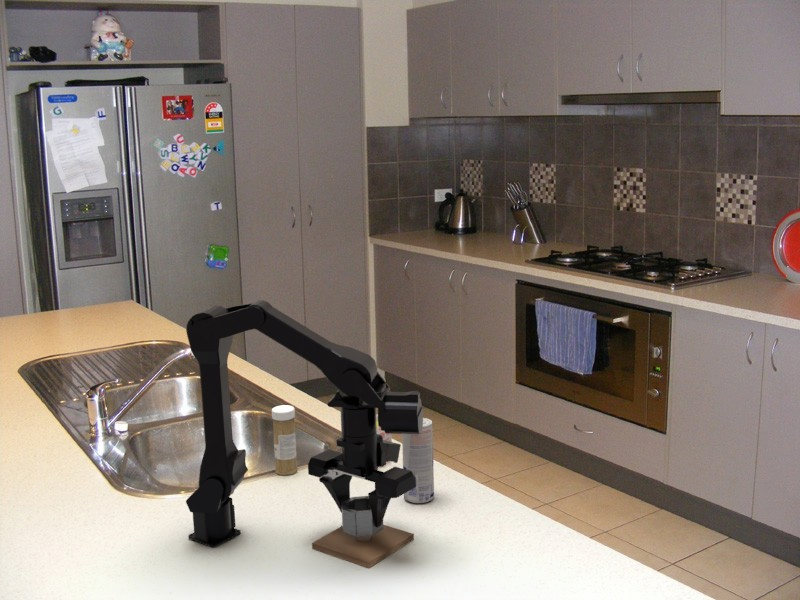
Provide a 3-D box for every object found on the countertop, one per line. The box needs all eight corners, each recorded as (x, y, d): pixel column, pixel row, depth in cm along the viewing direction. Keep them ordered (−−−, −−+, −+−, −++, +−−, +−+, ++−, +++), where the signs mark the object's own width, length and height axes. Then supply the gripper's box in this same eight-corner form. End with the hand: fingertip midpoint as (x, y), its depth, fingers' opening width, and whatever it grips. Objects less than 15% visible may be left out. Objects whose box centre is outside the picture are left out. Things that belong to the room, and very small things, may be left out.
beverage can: (440, 497, 170) (438, 420, 167) (420, 507, 166) (418, 428, 163) (417, 490, 173) (415, 414, 170) (397, 499, 169) (395, 422, 166)
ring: (365, 539, 147) (364, 516, 146) (334, 529, 151) (333, 506, 150) (390, 524, 152) (390, 502, 151) (360, 515, 156) (359, 493, 155)
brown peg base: (368, 568, 144) (367, 538, 143) (312, 548, 151) (310, 520, 150) (413, 539, 153) (413, 511, 152) (358, 522, 160) (357, 495, 159)
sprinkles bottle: (275, 468, 186) (271, 405, 184) (298, 466, 187) (294, 403, 184) (274, 476, 182) (271, 412, 179) (297, 475, 182) (294, 410, 180)
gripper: (434, 428, 149) (436, 517, 152) (347, 408, 160) (350, 492, 163) (393, 448, 140) (396, 543, 143) (303, 426, 151) (308, 514, 154)
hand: (362, 521), depth 151 cm, fingers closed on ring, 6 cm apart
